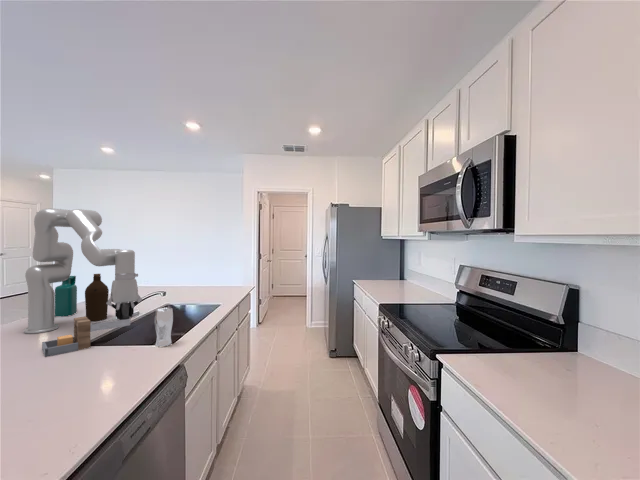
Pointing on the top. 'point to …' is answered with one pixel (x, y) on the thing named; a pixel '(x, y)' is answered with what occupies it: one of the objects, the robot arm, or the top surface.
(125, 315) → the grey piece
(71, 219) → the robot arm
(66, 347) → the tray
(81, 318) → the brown wooden block
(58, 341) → the spacer block
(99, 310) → the olive oil
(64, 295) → the teal green bottle
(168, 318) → the beer glass
